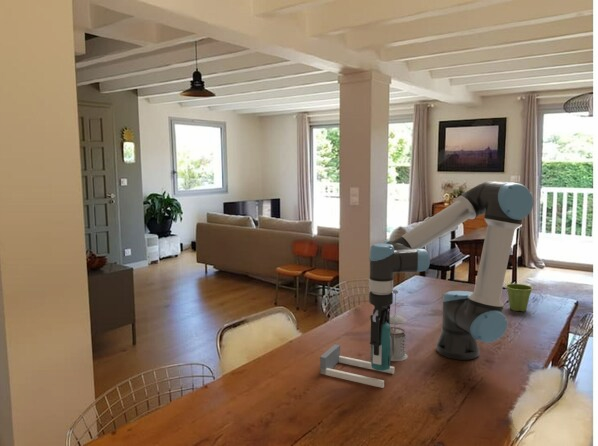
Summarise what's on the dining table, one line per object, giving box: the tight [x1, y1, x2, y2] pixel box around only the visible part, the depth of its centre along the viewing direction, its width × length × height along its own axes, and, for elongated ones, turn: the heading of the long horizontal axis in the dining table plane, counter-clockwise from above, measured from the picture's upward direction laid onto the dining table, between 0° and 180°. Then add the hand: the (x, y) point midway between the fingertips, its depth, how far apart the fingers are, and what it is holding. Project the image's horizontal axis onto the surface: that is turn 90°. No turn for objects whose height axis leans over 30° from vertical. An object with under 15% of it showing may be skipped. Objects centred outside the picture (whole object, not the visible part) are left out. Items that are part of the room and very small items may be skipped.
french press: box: [390, 289, 408, 362], centre depth 170 cm, size 10×12×25 cm
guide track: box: [319, 343, 395, 389], centre depth 158 cm, size 22×12×6 cm, turn 62°
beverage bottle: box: [370, 314, 392, 372], centre depth 154 cm, size 6×7×20 cm
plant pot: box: [505, 283, 534, 312], centre depth 225 cm, size 12×12×11 cm
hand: (379, 360), depth 154 cm, fingers closed on beverage bottle, 5 cm apart
